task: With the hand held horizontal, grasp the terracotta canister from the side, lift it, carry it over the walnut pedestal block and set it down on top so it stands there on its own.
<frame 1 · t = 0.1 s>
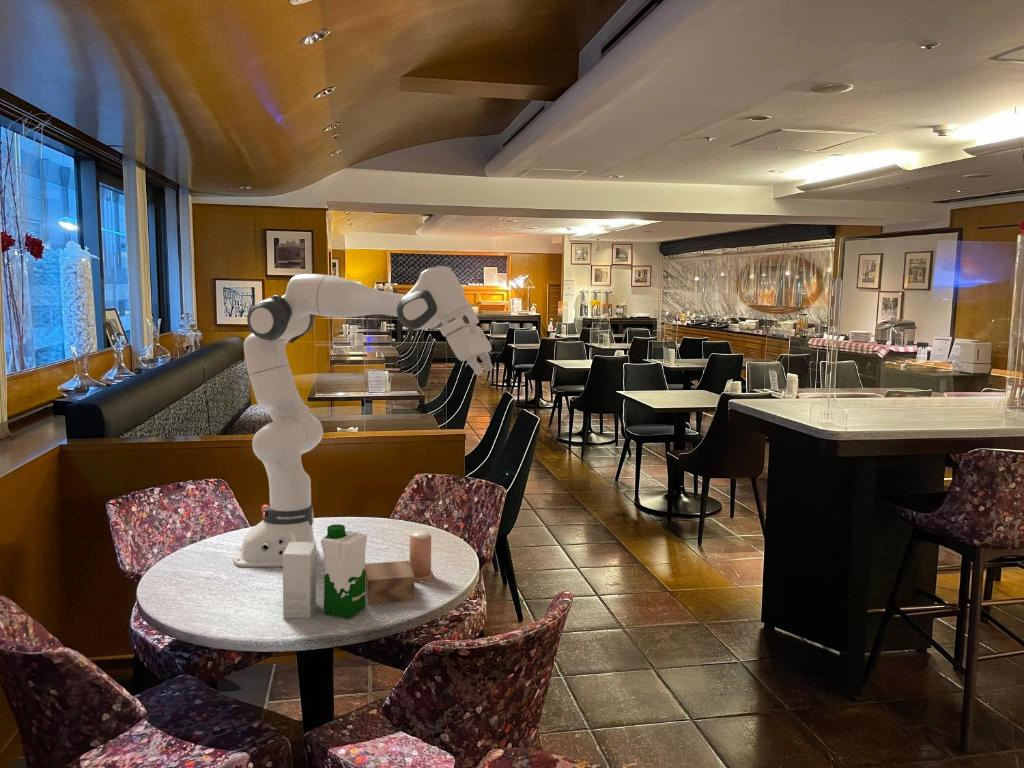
hand: (485, 371, 191), 54 cm above the table, tool tilted 30°, fingers open, 8 cm apart
skincare box: (300, 612, 174), on the table
block: (389, 593, 185), on the table
canister: (420, 577, 196), on the table
milk carton: (345, 611, 175), on the table
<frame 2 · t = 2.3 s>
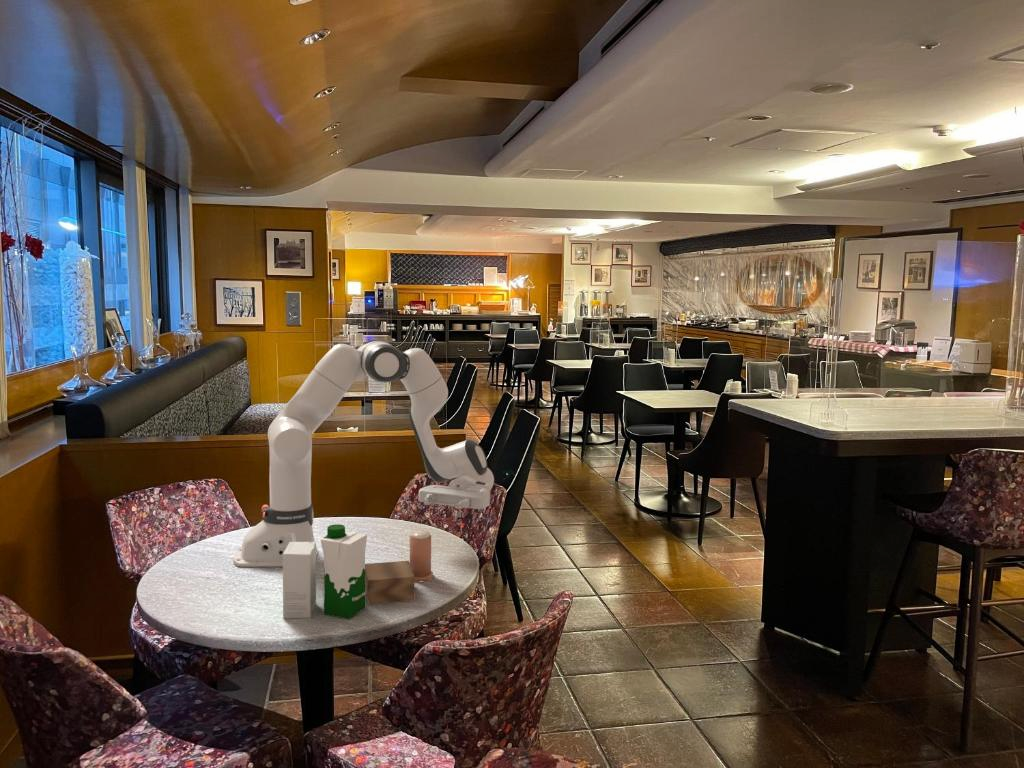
hand: (441, 504, 205), 16 cm above the table, tool horizontal, fingers open, 8 cm apart
nothing on the table moved.
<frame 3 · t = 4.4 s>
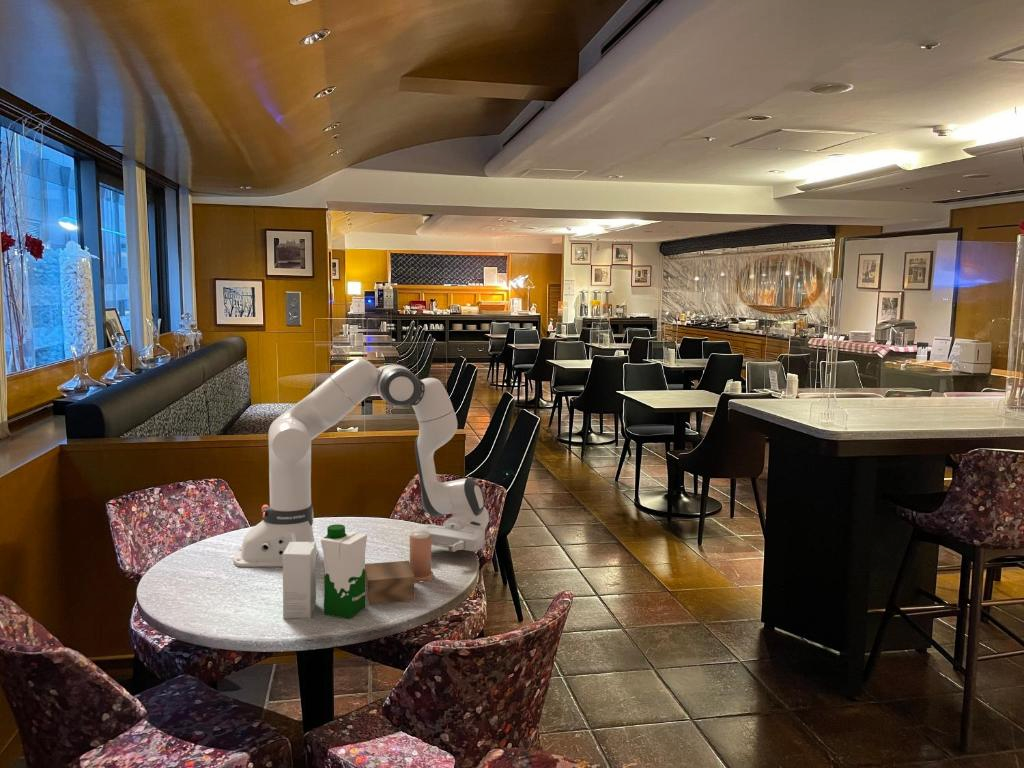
hand: (435, 546, 204), 5 cm above the table, tool horizontal, fingers open, 8 cm apart
nothing on the table moved.
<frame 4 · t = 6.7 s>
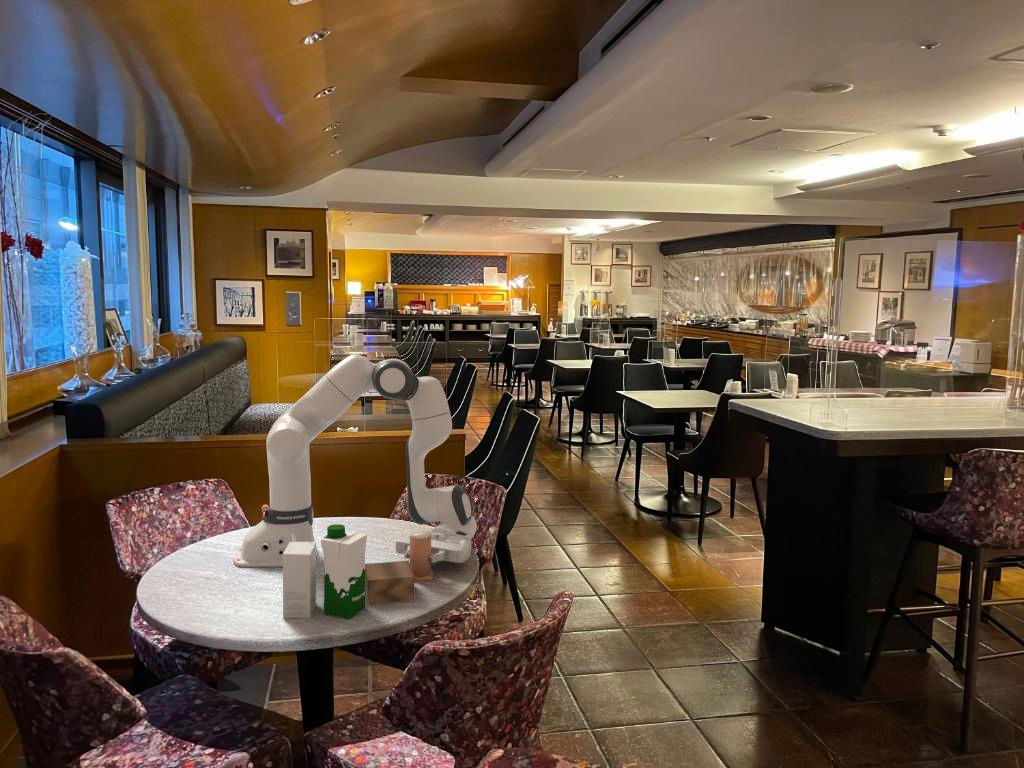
hand: (418, 557, 194), 6 cm above the table, tool horizontal, fingers closed on canister, 6 cm apart
canister: (420, 576, 196), on the table, touching gripper
everything else where it was.
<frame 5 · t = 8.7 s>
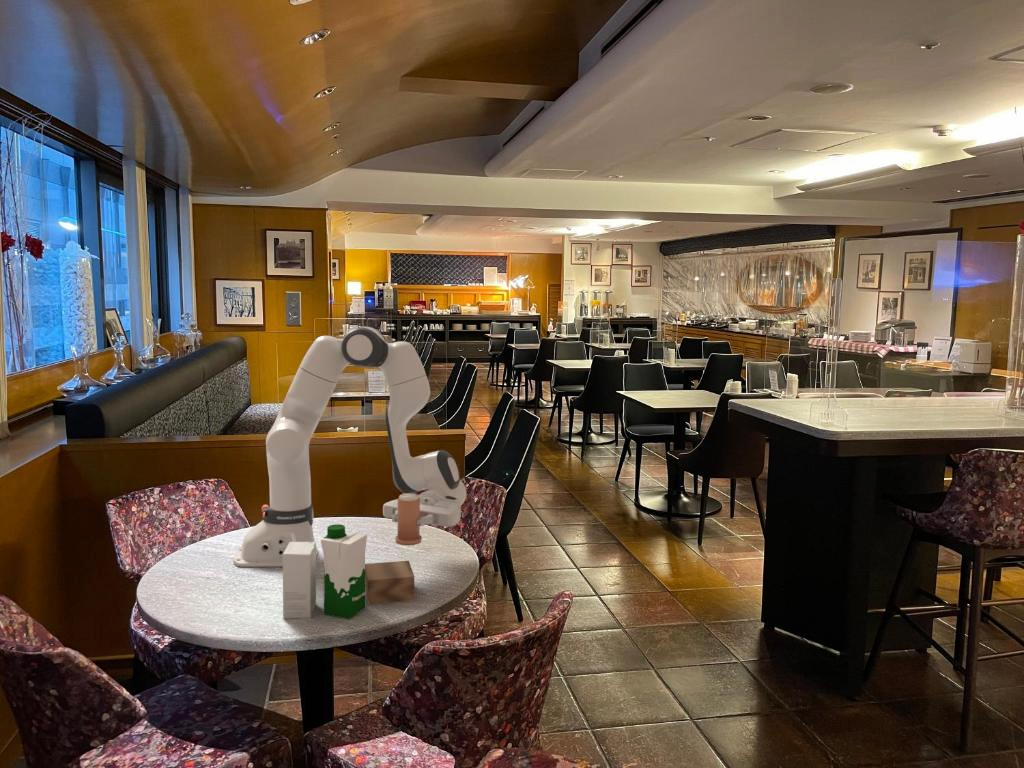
hand: (406, 521, 189), 17 cm above the table, tool horizontal, fingers closed on canister, 6 cm apart
canister: (408, 541, 191), point 11 cm above the table, touching gripper
everything else where it was.
when the fingers open (12 cm above the table, at t = 10.8 s): canister stays where it is, resting on block.
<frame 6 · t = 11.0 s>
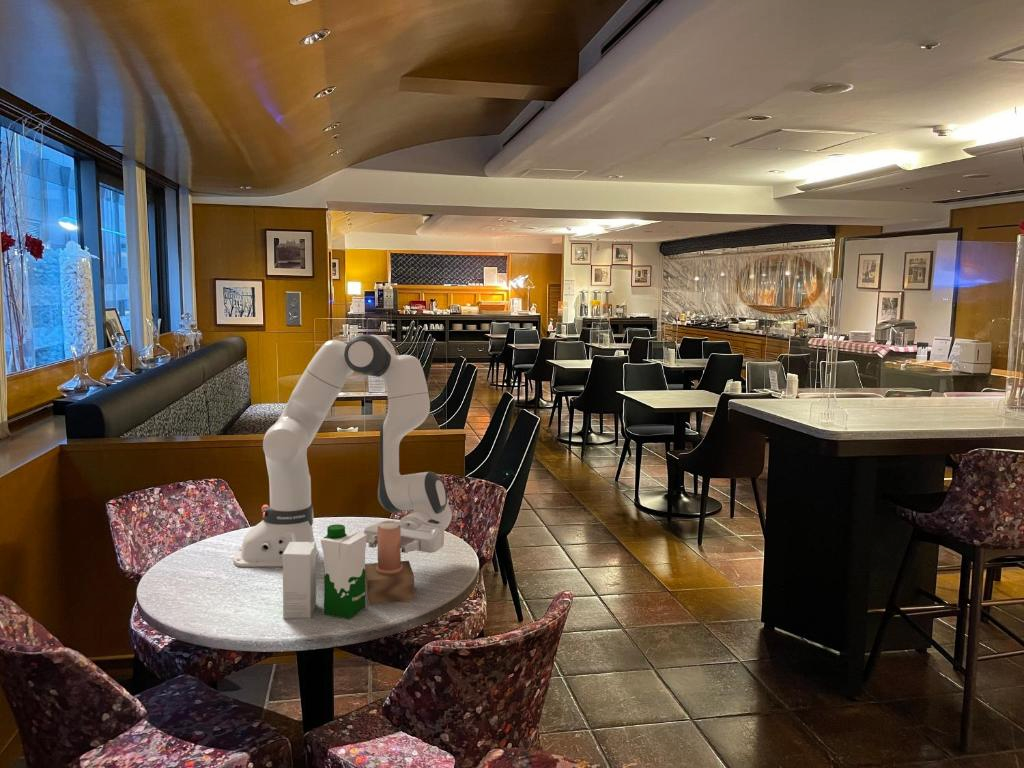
hand: (387, 547, 183), 12 cm above the table, tool horizontal, fingers open, 8 cm apart
canister: (389, 570, 184), point 6 cm above the table, touching block
everything else where it was.
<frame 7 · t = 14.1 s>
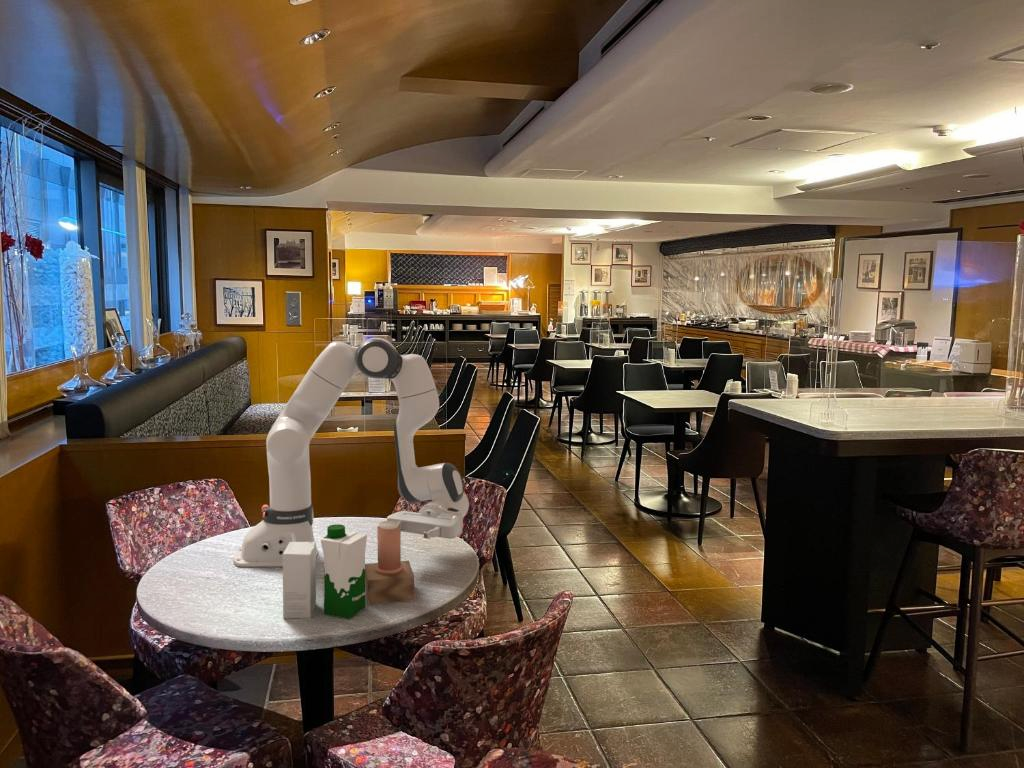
hand: (409, 533, 193), 12 cm above the table, tool horizontal, fingers open, 8 cm apart
nothing on the table moved.
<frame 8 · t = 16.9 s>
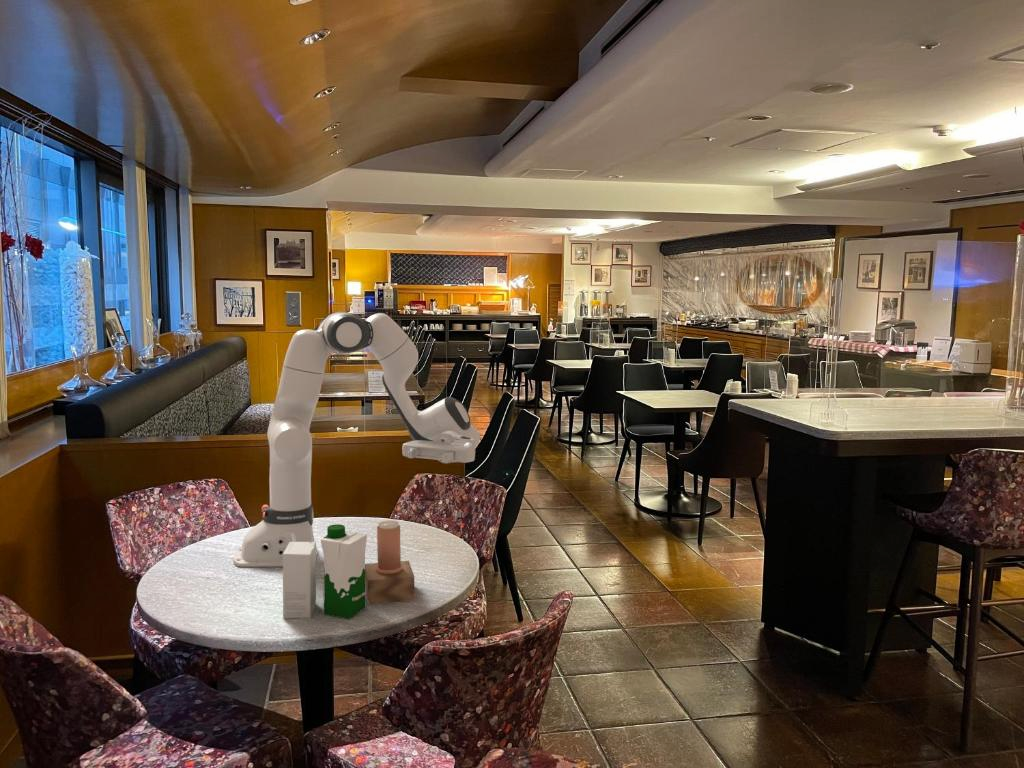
hand: (425, 456, 202), 30 cm above the table, tool horizontal, fingers open, 8 cm apart
nothing on the table moved.
at the end: canister inside the target area on the block (0.0 cm from its centre), point 6.0 cm above the block's base; canister tilted 1°; the gripper is holding nothing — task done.
